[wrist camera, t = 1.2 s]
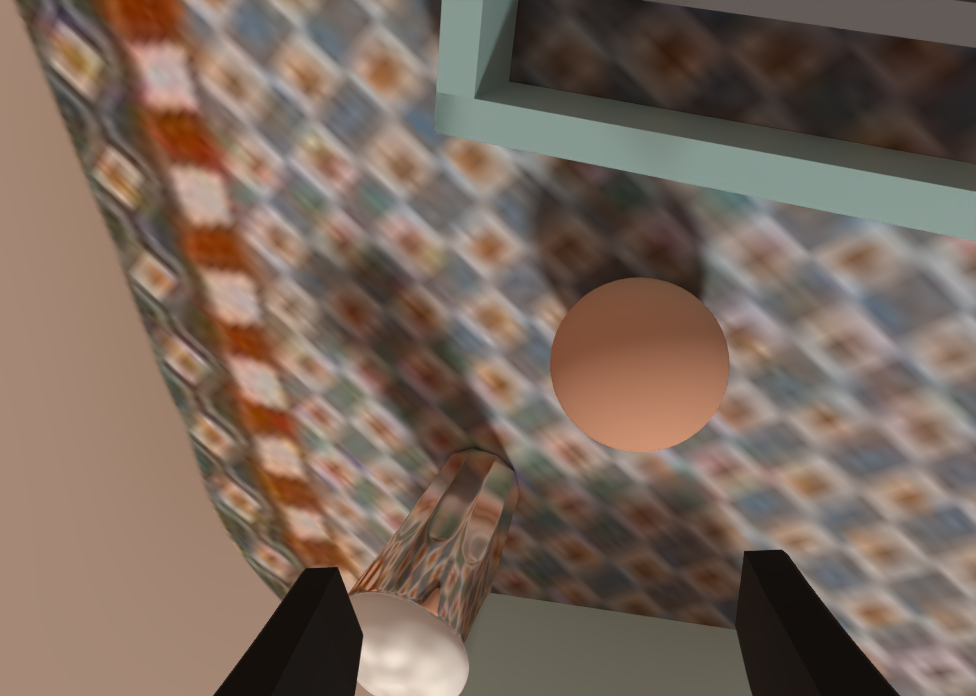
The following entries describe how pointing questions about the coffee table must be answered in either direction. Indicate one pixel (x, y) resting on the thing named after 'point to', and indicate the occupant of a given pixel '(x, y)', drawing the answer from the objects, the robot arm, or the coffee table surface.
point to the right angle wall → (599, 653)
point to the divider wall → (683, 138)
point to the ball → (639, 364)
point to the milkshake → (435, 581)
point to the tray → (864, 15)
